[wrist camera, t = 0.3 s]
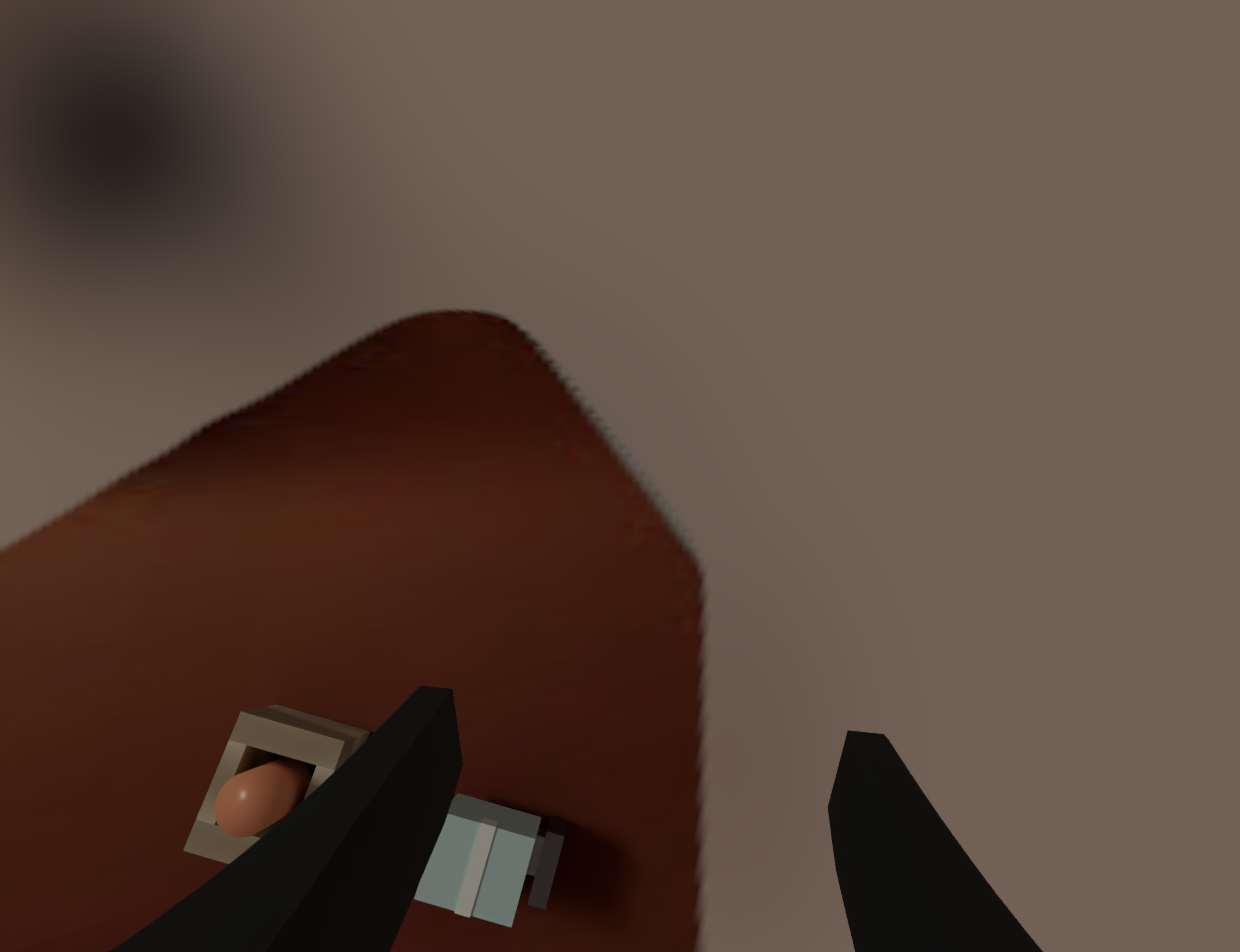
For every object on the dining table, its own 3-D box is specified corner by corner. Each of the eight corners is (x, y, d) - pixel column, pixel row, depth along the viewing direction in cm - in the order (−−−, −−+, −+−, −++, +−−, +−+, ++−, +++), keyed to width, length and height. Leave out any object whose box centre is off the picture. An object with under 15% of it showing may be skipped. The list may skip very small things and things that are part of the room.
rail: (549, 886, 35) (545, 909, 32) (336, 824, 36) (313, 842, 33) (566, 819, 36) (564, 836, 33) (359, 760, 37) (338, 771, 34)
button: (298, 821, 34) (261, 845, 30) (248, 807, 34) (204, 828, 30) (320, 765, 35) (286, 780, 31) (270, 750, 35) (230, 764, 31)
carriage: (519, 896, 34) (510, 929, 30) (433, 870, 34) (413, 901, 30) (541, 816, 35) (535, 838, 31) (458, 792, 35) (441, 811, 31)
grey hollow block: (325, 856, 35) (293, 882, 31) (227, 827, 35) (183, 850, 31) (370, 731, 37) (344, 741, 33) (277, 704, 37) (240, 711, 33)
